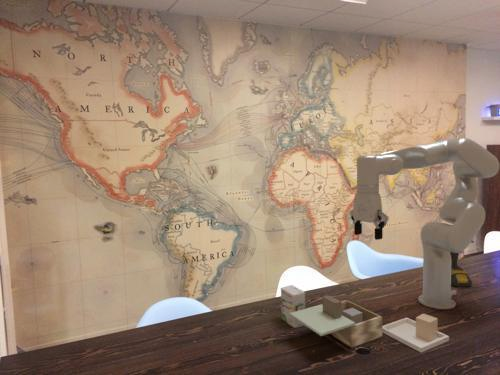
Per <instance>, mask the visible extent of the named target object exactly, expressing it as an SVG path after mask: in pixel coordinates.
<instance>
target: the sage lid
mask: <svg viewBox="0 0 500 375" xmlns="http://www.w3.org/2000/svg"><path fill="white" fill-rule="evenodd" d="M290 316H291V317H293V318H294V319H296V320H297V321H299V322H301V323H302V324H304V326H305V327H307V328H308V329H310V330H311V331H313V332H314V333H316V334H317V335H319V336H320V337H323V336H326V335H330V334H329V333H332V332H335V331H338V330H341V329H344V328H347V327H350V326H353V325H355V322H353V321H351V320H350V319H348V318H346V317H344V316H342V315H341V300H339V299H337V298H335V297H333V296H331V295H329V294H328V295H324V296H322V304H318V305H315V306H310V307H305V309H303V310H299V311H295V312H292V313H290Z"/></svg>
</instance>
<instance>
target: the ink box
mask: <svg viewBox="0 0 500 375" xmlns="http://www.w3.org/2000/svg"><path fill="white" fill-rule="evenodd" d="M280 300H281V301H280V302H281V304H280V306H281V307H280V308H281V309H280V310H281V312H280V313H281V314H280V315H281V316H280V318H281V319H282V320H283V322H285V323H286V324H288V325H289V326H291V327H293V328H294V329H297V328H301V327H303V326H305V325H304V324H302V323H301V322H299V321H297V320H296V319H294V318H293V317H291V316H290V313H292V312H295V311H299V310H303V309H306V292H305V291H303V290H302V289H299V287H297V286H294V285H293V284H291V285H287V286H284V287H280Z"/></svg>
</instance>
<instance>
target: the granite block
mask: <svg viewBox="0 0 500 375" xmlns="http://www.w3.org/2000/svg"><path fill="white" fill-rule="evenodd" d="M342 316H344V317H346V318H348V319H350V320H351V321H353V322H355V324H357V323H360V322H363V313H362V312H360V311H358V310H356V309H354V308H350V309H347V310H343V311H342Z"/></svg>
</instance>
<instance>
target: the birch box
mask: <svg viewBox="0 0 500 375" xmlns="http://www.w3.org/2000/svg"><path fill="white" fill-rule="evenodd" d="M340 301H341V300H340ZM350 308H354V309H356V310H358V311H360V312H362V313H363V322H360V323H357V324H355V325H353V326H350V327H347V328H344V329H341V330H338V331H335V332H332V333H329V334H328V335H331V336H332V337H334V338H335V339H337V340H339V341H340V342H341V343H342V344H345V345H346V346H348V347H350V348H355V347H358V346H360V345H364V344H366V343H369V342H370V341H373V340H376V339H379V338H382V337H383V333H382V326H383V316H381V315H380V314H378V313H375V312H374V311H371V310H369V309H367V308H364V307H363V306H362V305H361V306H360V305H359V304H357V303H354V302H352V301H350V300H348V299H346V300H342V301H341V315H342V311H343V310H347V309H350Z"/></svg>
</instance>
